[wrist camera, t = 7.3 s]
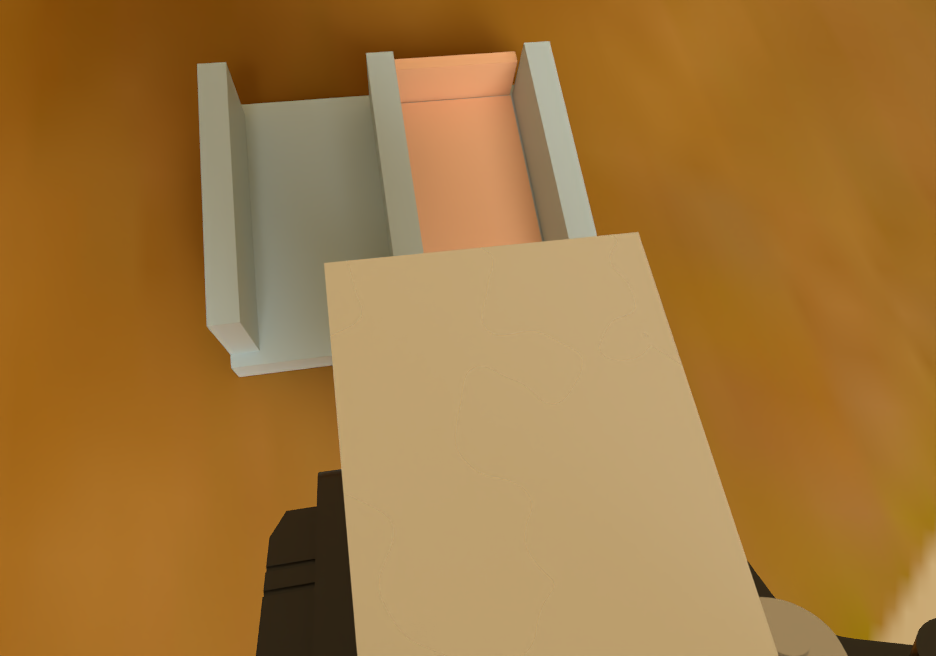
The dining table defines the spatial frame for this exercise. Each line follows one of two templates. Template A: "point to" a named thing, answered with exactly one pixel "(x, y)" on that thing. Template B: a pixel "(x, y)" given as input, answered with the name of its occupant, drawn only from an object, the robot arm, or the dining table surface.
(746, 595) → the panel
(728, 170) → the dining table surface
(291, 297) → the slot rack
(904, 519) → the dining table surface
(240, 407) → the dining table surface
